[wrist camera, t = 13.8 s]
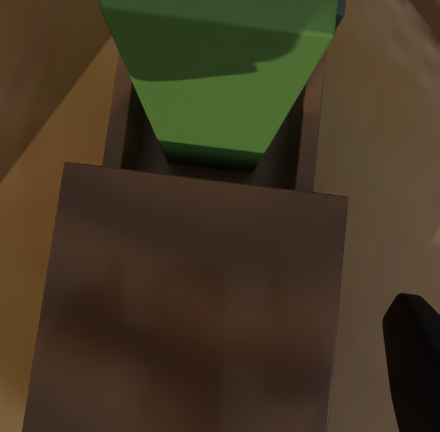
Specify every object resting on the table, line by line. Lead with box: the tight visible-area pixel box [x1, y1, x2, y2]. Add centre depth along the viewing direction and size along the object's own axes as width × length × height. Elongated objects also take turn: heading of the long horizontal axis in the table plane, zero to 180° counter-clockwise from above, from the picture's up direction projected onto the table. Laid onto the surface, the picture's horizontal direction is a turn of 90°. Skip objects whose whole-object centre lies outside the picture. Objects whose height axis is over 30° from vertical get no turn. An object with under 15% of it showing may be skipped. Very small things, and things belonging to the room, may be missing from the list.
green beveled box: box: [99, 0, 338, 172], centre depth 14 cm, size 4×4×13 cm
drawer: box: [102, 0, 346, 192], centre depth 19 cm, size 16×10×5 cm, turn 173°
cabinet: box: [22, 162, 348, 432], centre depth 18 cm, size 13×11×6 cm
